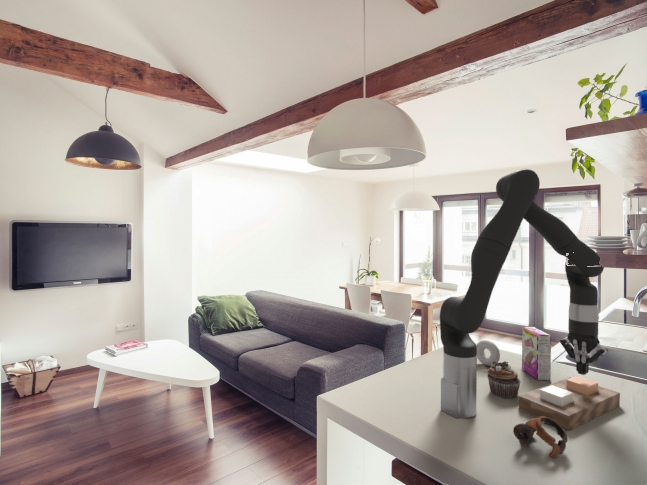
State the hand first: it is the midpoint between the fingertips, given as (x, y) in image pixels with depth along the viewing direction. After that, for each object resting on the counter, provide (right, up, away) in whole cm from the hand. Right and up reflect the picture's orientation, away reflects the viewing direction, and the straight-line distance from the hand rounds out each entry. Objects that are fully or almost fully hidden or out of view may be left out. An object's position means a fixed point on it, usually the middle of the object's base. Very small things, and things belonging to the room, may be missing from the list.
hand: (582, 373), depth 115 cm
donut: (-16, -8, +32) cm, 36 cm away
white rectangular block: (-12, -6, -7) cm, 15 cm away
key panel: (-6, -9, -3) cm, 11 cm away
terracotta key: (0, -5, 0) cm, 5 cm away
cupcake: (-21, -9, +7) cm, 24 cm away
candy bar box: (-2, -8, +22) cm, 24 cm away
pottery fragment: (-27, -10, -23) cm, 37 cm away
